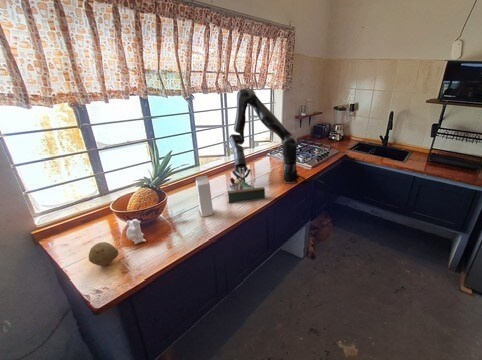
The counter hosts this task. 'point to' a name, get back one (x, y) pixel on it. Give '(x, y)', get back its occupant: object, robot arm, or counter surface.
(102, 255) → the brown rounded lump
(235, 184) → the sneaker
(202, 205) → the milk
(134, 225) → the koala figurine
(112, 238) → the counter surface
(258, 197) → the shoe rail
